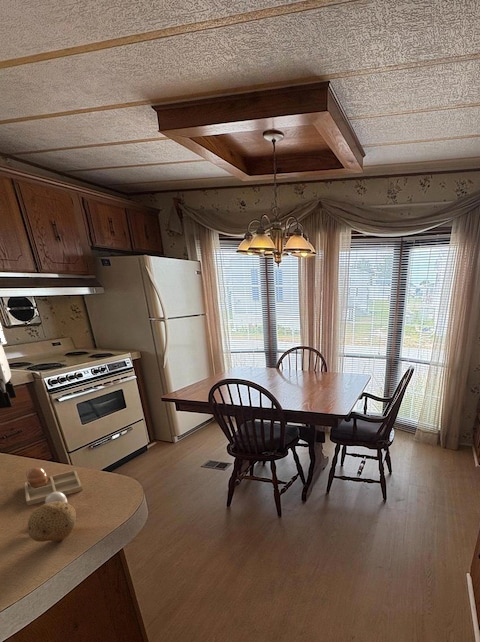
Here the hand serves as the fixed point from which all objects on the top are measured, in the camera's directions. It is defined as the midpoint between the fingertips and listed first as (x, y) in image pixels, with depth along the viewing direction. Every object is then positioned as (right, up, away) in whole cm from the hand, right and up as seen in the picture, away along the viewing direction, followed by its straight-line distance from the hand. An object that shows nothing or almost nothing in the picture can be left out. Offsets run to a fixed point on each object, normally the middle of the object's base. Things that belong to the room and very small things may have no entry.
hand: (6, 402), depth 93 cm
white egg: (+17, -30, -3) cm, 34 cm away
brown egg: (+3, -24, +8) cm, 26 cm away
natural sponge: (+24, -34, -12) cm, 43 cm away
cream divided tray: (+7, -25, +8) cm, 27 cm away
